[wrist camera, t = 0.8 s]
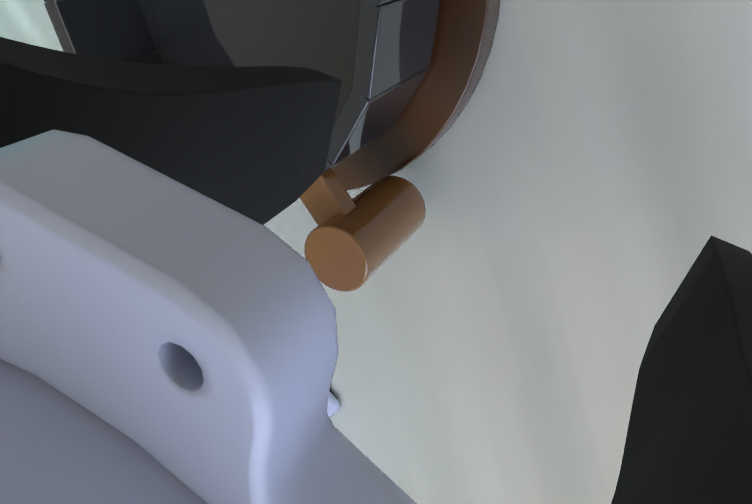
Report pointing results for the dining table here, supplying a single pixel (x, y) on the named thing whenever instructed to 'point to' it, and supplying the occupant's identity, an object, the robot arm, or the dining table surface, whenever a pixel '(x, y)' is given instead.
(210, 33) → the cooking pot
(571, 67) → the dining table surface
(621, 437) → the dining table surface
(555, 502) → the dining table surface
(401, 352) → the dining table surface
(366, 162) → the turntable
